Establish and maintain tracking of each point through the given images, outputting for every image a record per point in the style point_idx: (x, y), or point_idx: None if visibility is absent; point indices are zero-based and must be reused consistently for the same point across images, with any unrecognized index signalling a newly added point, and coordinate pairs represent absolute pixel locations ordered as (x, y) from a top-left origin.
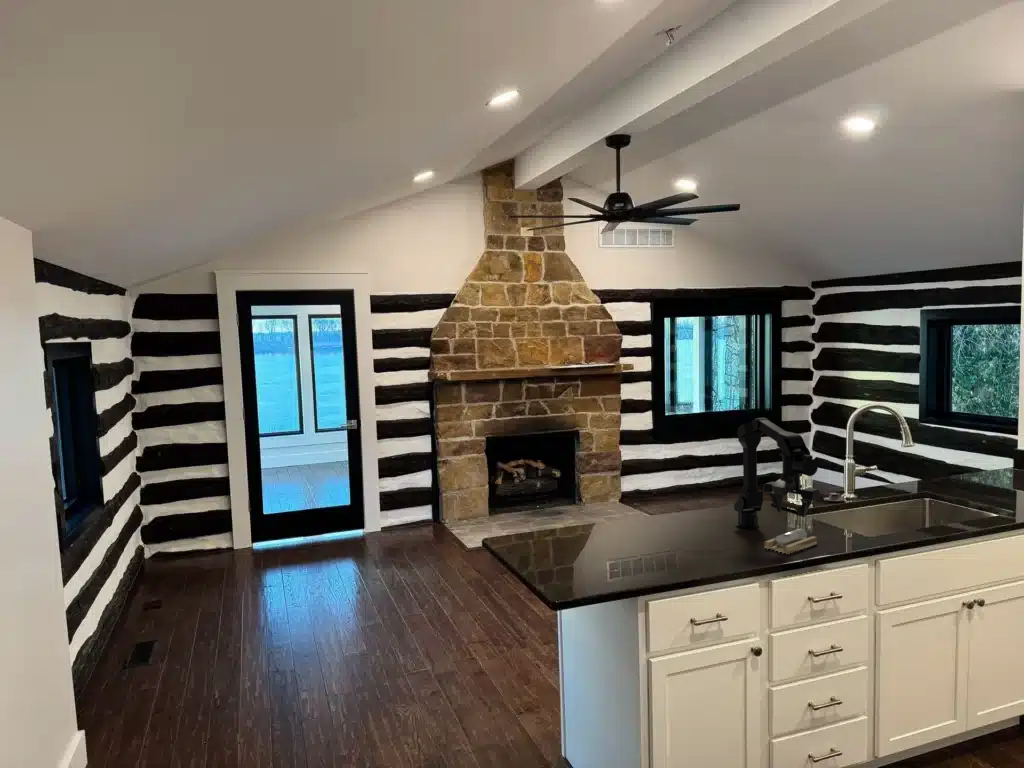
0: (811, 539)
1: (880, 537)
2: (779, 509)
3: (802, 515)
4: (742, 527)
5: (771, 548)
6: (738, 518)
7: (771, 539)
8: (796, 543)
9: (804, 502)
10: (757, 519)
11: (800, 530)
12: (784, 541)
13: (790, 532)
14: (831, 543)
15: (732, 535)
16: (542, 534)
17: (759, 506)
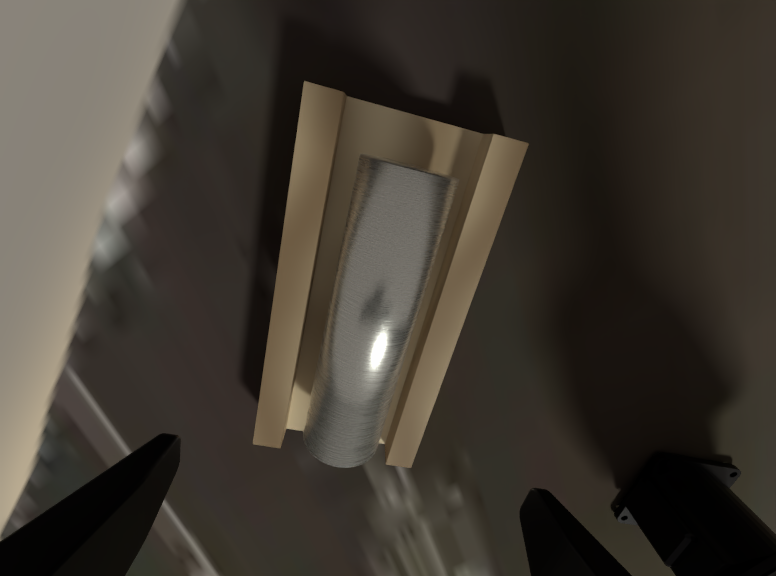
0: (260, 391)
1: None
2: (545, 533)
3: (150, 450)
4: (699, 459)
5: (454, 126)
6: (759, 518)
7: (490, 234)
8: (294, 238)
9: None
10: (652, 540)
11: (330, 430)
12: (360, 157)
13: (369, 339)
14: (210, 457)
15: (748, 312)
16: None
17: None
